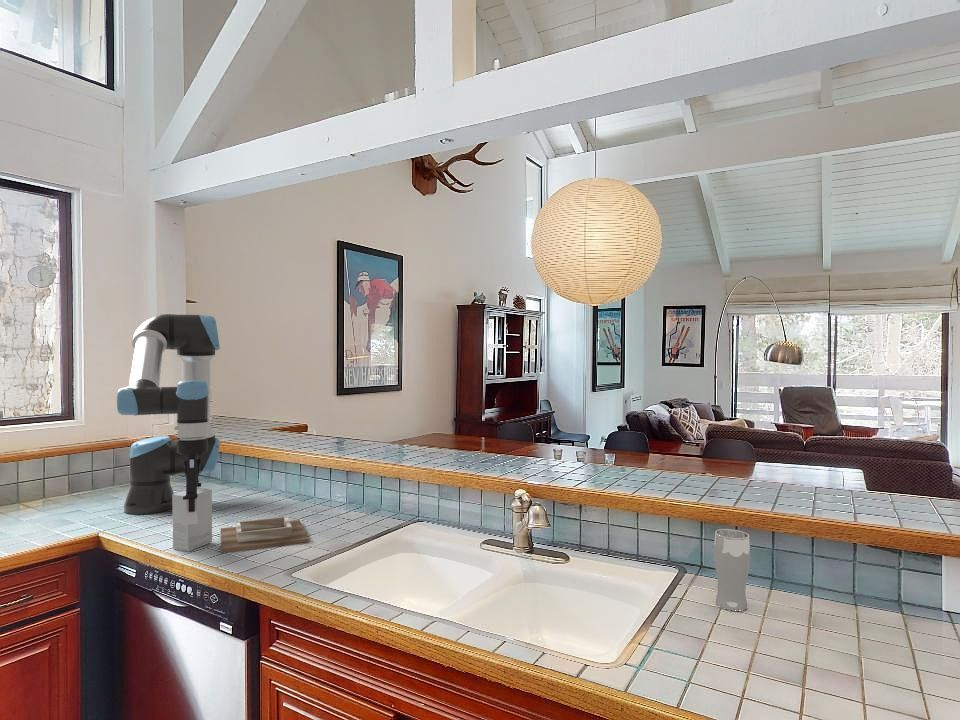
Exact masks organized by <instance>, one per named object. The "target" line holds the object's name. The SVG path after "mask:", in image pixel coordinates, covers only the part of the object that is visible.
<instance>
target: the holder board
mask: <svg viewBox="0 0 960 720" xmlns="http://www.w3.org/2000/svg"><path fill="white" fill-rule="evenodd" d="M305 543H307V544H308V543H310V538H309V535H308V533H307V532H306V530H305V528H304V526H303V524H302V523H301V520H300V519H296V520H295V519H293V520H289V517H288V516H287V515H286V516H278V517H267V518H258V519H249V520H240V521H239V520H238V521H235V526H231V527H229V526H228V527H220V546H221V550H220V551H221V554H224V553H231V552H232V553H233V552H240V551H248V550H249V551H250V550H256V549H264V548H273V547H280V546H281V547H282V546H290V545H298V544H305Z"/></svg>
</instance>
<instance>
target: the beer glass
mask: <svg viewBox="0 0 960 720" xmlns="http://www.w3.org/2000/svg"><path fill="white" fill-rule="evenodd" d="M750 542H751V541H750V534H749V533H747V532H745V531H742V530H738V529H733V528H732V529H731V528H730V529H729V528H720V529H717V530H715V531H714V542H713V560H714V569H715V574H716V580H717V581H716V582H717V592H716V593H717V594H716V597H715V598H716V599H715V605H716V604H717V605H718V606H720V607H722V608H725V609H728V610H734V611H735V610H736V611H739V610H741V611H742V610H745V609H747V610H748V608H747V607H748V601H747V595H746V594H747V593H746V588H747V581H748V577H749V571H750V566H751V543H750ZM717 605H716V606H717ZM718 606H717V607H718ZM720 607H719V608H720ZM722 608H721V609H722ZM728 610H727V611H728ZM745 611H746V610H745ZM742 612H743V611H742Z"/></svg>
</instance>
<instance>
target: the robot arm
mask: <svg viewBox="0 0 960 720" xmlns="http://www.w3.org/2000/svg"><path fill="white" fill-rule="evenodd" d="M218 333H219V332H218V326H217V320H216V318H215V317H214V316H212V315H205V314H171V313H164V314H162V313H161V314H159V315H155V316H152V317H150V318H148V319H147V320H146V321H144V322H143V323H141V324H140V326H138V327H137V329H136V330H135V332H134V334H133V337H132V341H131V342H132V343H131V344H132V347H133V350H134V352H133V358H132V364H131V368H130V369H131V370H130V375H129V381H128V385H127V386H126V387H120V388H119V389H118V390H117V394H116V409H117V412H118V414H119V415H122V416H134V417H136V416H144V415H145V416H147V415H149V416H150V415H171V414H174V415H176V417H177V418H176V426H174V428H173V429H174V430H175V431H177V432H176V438H177V440H172V439H171V437H170V436H167V435H165V436H155V437H150V438H149V437H148V438H145V439H140V440H137V441H135V442H133V443H132V444H131V446H130V452H129V459H130V463H129V464H130V468H129V469H130V472H129V473H130V474H129V475H130V477H129V480H130V484H129V490H128V493H127V495H126V499H125V501H124V504H123V512H124V513H126V514H132V515H145V514H155V513H161V512H165V511H169V510H173V503H172V495H173V494H175V493H174V489H173V487H172V485H171V477H172V476H179V475H180V476H181V475H183V476H185V478H186V479H185V480H186V481H185V482H186V483H185V491H186V496H183V500H186V525H189V524H198V498H197V497H198V495H197V488H202V482H200V479H199V476H200V474H201V475H202V474H206V473H208V474H209V473H212V472H214V471H215V470H216V467H217V465H218V464H217V463H218V459H219V458H218V457H219V450H220V443H221V441H220V438H218V437H216V433H215V432H214V431H213V430H212V429H211V360H212V359H213V358H214V357H215V356H216V351H219V350H220V348H221V347H220V338H219V334H218ZM166 350H174V351H175V350H176V356H177V357H178V358H179V359H180V360H181V379H182V380H180V381H178V382H177V384H176V386H160V383H161V382H160V380H161V373H162V371H161V370H162V360H163V353H164V352H165V351H166Z"/></svg>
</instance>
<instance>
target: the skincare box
mask: <svg viewBox="0 0 960 720" xmlns="http://www.w3.org/2000/svg"><path fill="white" fill-rule="evenodd" d="M197 495H198V497H197V498H198V524H189V525H186V500H183V496H186V490H183V491H181V492H177V493H174V494H173V495H172V503H173V508H172V528H173V533H172V549H175V550H177V551H183V550H184V551H183V552H191V551H193V550H196V549H198V548H200V547H203V546H205V545H209V544H211V543H212V542H213V490H212V489H210V488H202V487H197Z"/></svg>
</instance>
